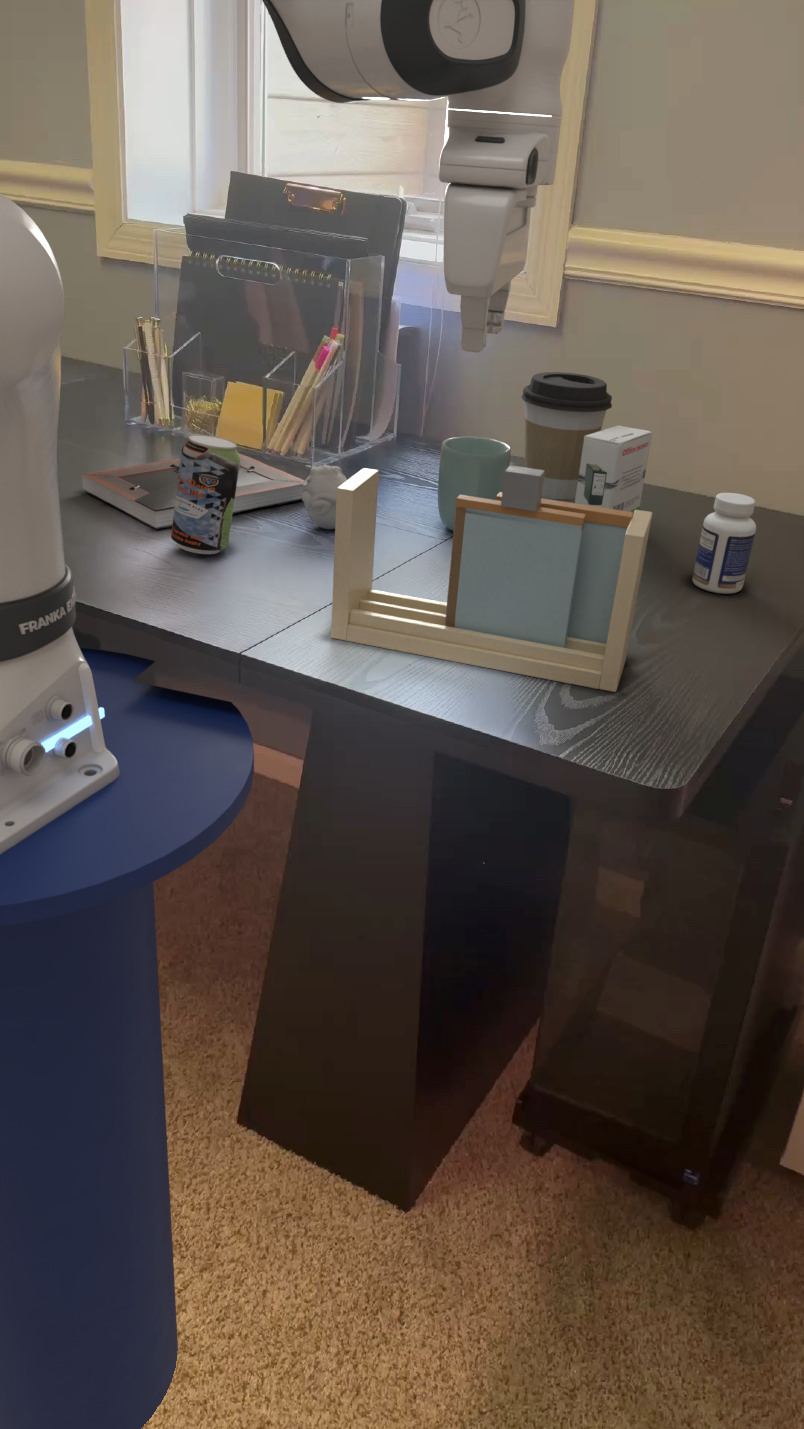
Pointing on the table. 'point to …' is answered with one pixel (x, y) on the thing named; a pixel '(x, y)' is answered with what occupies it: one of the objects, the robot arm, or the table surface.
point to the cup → (469, 472)
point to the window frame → (421, 630)
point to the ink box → (613, 468)
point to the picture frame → (155, 488)
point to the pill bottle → (725, 544)
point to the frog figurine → (322, 494)
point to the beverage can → (205, 494)
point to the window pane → (514, 563)
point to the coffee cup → (561, 427)
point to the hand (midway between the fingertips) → (482, 341)
